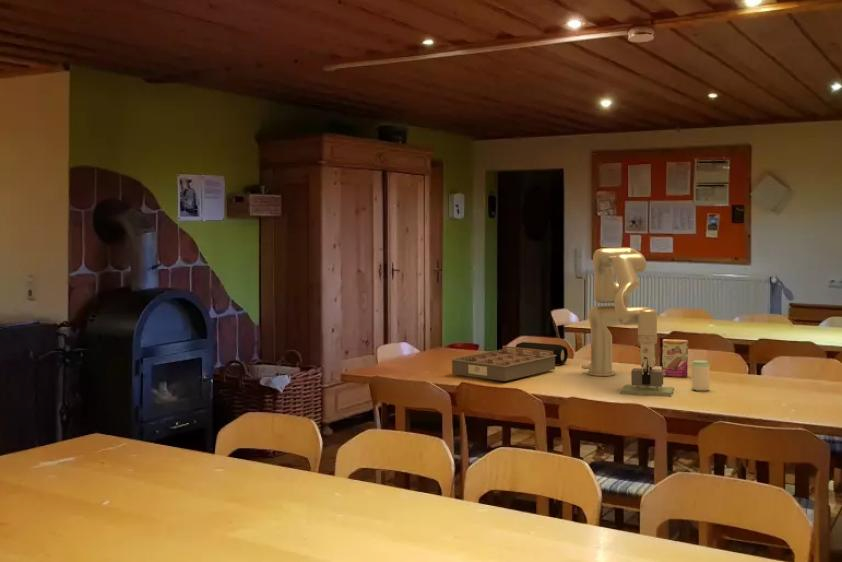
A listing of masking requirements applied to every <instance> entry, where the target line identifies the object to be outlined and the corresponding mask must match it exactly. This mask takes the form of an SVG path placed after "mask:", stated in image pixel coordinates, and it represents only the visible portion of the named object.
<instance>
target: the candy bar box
mask: <svg viewBox="0 0 842 562" xmlns="http://www.w3.org/2000/svg"><path fill="white" fill-rule="evenodd" d="M661 342H662V344H661V370H663V377H667V376H669V378H670V377H671V378H688V375H689V374H688V373H689V371H688V370H689V369H688V367H689V363H688V362H689V340H687V339H670V338H667V339H666V338H665V339H664V338H663V339H662V341H661Z"/></svg>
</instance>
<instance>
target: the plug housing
mask: <svg viewBox="0 0 842 562" xmlns="http://www.w3.org/2000/svg"><path fill="white" fill-rule="evenodd" d="M642 370H643V368H640V367H639V368H633V369H631V377H630V379H631V384H630V385H637V386H654V387H663V385H664V376H663V370H662V369H657V368H655V369H654V368H652V369H650V374H649V375H650V385H645V384H642Z"/></svg>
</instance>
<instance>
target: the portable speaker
mask: <svg viewBox="0 0 842 562" xmlns="http://www.w3.org/2000/svg"><path fill="white" fill-rule="evenodd" d="M515 347H519V348H528V349H537V350H546V351H553V355H557V356H555V364H561V365H564V364H566V363H567V360H568V358H569V355H568V354H569V353H568V352H569V351H568V349H567V347H566V346H564V345H562V344H556V343H541V342H531V341H530V342H529V341H522V342H519V343H516V344H515Z"/></svg>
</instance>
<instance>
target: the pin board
mask: <svg viewBox="0 0 842 562" xmlns="http://www.w3.org/2000/svg"><path fill="white" fill-rule="evenodd" d="M673 391H675V387H674V386H662V387H654V386H637V385H631V384H624V385H623V386H622V387H621V388H620V389H619V393H620V394H621V395H623V394H624V395H637V394H646V395H645V396H654V395H662V396H661V397H672V396H671V395H673V394H672V393H674V392H673Z"/></svg>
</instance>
